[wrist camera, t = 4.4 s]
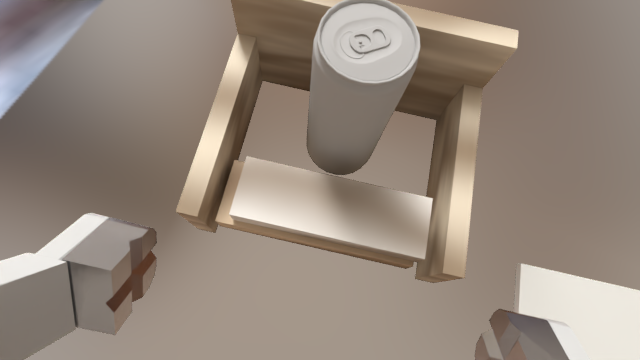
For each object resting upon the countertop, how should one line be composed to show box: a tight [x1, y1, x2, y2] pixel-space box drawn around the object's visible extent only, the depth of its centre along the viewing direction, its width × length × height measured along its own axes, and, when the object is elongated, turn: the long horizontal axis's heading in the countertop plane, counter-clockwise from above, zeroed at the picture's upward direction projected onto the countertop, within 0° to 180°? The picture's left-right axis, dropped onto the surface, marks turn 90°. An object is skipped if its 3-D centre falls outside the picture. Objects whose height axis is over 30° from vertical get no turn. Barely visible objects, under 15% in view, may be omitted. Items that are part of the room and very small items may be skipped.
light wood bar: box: [215, 156, 433, 269], centre depth 24 cm, size 4×12×4 cm, turn 78°
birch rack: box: [176, 0, 518, 283], centre depth 23 cm, size 14×16×9 cm
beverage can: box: [307, 0, 420, 175], centre depth 22 cm, size 5×5×12 cm
